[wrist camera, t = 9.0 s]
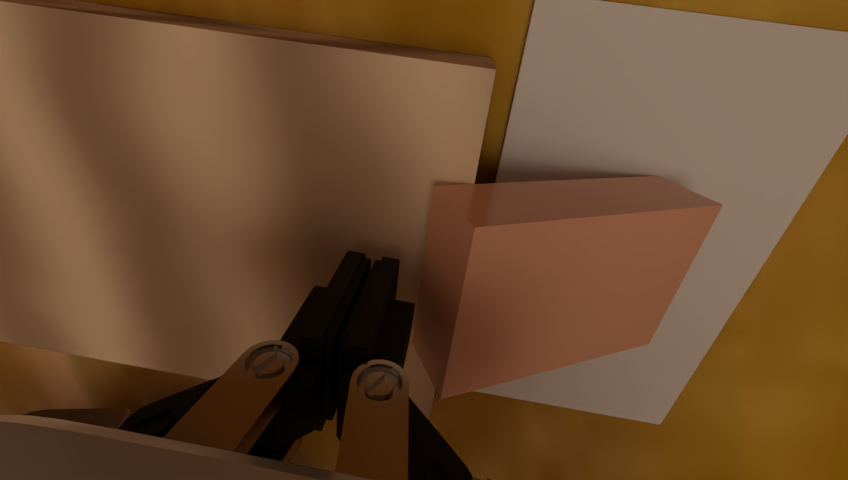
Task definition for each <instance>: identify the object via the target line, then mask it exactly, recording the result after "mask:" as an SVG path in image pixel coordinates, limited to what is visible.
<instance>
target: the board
mask: <svg viewBox="0 0 848 480" xmlns="http://www.w3.org/2000/svg"><path fill="white" fill-rule="evenodd" d="M495 73H496V68H495V65H494V62H493V60H492V58H491V57H484V56H476V55H469V54H462V53H454V52H447V51H440V50H432V49H425V48H418V47H411V46H403V45H396V44H389V43H381V42H374V41H367V40H359V39H352V38H345V37H338V36H330V35H323V34H316V33H308V32H301V31H294V30H286V29H279V28H272V27H264V26H257V25H250V24H243V23H235V22H228V21H221V20H213V19H206V18H199V17H191V16H184V15H177V14H170V13H162V12H155V11H148V10H140V9H133V8H126V7H118V6H111V5H104V4H96V3H89V2H82V1H75V0H0V341H2V342H8V343H13V344H19V345H24V346H29V347H35V348H40V349H46V350H51V351H56V352H62V353H67V354H73V355H78V356H84V357H89V358H94V359H100V360H105V361H111V362H116V363H121V364H127V365H132V366H138V367H143V368H148V369H154V370H159V371H165V372H170V373H175V374H181V375H186V376H192V377H197V378H203V379H208V380H213V379H215V378H218V377H220V376H222V375H223V374H224V373H225V372H226V371H227V370H228V369H229V368H230V367H231V365H232V364H233V363H234V362H235V361H236V360H237V359H238V358H239V357H240V356H241V355H242V354H243V353H244V352H245V351H246V350H248V349H249V348H250V347H251V346H254V345H256V344H258V343H260V342H264V341H268V340H280V339H281V338H282V336H283V335H284V333H285V331H286V330H287V328H288V327H289V325H290V324H291V322H292V320H293V319H294V317H295V316H296V314H297V312H298V311H299V309H300V308H301V306H302V304H303V303H304V301H305V300H306V298H307V296H308V295H309V293H310V292H311V290H312V289H313V287H314V286H316V285H317V286H322V287H327V286H328V284H329V282H330V280H331V279H332V277H333V275H334V273H335V272H336V270H337V268H338V267H339V265H340V263H341V261H342V260H343V258H344V256H345V254H346V253H347V251H355V252H361V253H365V254H366V258H369V259H371V268H372V266H373V264H374V262H375V260H381V259H382V257H383V256H384V257H390V258H395V259H399V260H400V264H399V273H398V282H397V291H396V300H401V301H406V302H412V303H415V309H414V316H413V323H412V329H411V335H410V340H409V345H408V350H407V354H406V359H405V363H404V368H403V370H404V371H405V373H406V374H407V376H408V381H409V397H410V398H411V400H412V401H413V402H414V403H415V404H416V406H417V407H418V408H419V409H420V411H421V412H422V413H423V414H424V415H425V417H426V418H427V419H428V420H430V415H431V410H432V405H433V399H434V394H435V388H434V386H433V384H432V382H431V380H430V378H429V376H428V374H427V372H426V370H425V368H424V366H423V364H422V362H421V360H420V358H419V356H418V354H417V351H416V349H415V347H414V345H413V343H412V340H413V333H414V325H415V318H416V310H417V303H418V296H419V288H420V281H421V273H422V266H423V258H424V251H425V243H426V236H427V228H428V221H429V213H430V206H431V199H432V191H433V186H439V185H462V184H475V178H476V173H477V168H478V162H479V157H480V152H481V147H482V141H483V136H484V131H485V126H486V120H487V115H488V110H489V105H490V99H491V94H492V89H493V83H494V78H495Z"/></svg>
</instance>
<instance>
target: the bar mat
mask: <svg viewBox="0 0 848 480" xmlns="http://www.w3.org/2000/svg"><path fill="white" fill-rule="evenodd" d="M847 134H848V32H842V31H834V30H826V29H818V28H811V27H803V26H795V25H787V24H779V23H771V22H764V21H756V20H748V19H740V18H732V17H725V16H717V15H709V14H701V13H693V12H685V11H678V10H670V9H662V8H654V7H646V6H639V5H631V4H623V3H615V2H607V1H599V0H534V3H533V8H532V13H531V17H530V22H529V26H528V31H527V36H526V40H525V45H524V49H523V54H522V59H521V63H520V68H519V73H518V77H517V82H516V86H515V91H514V96H513V100H512V105H511V110H510V114H509V119H508V123H507V128H506V133H505V137H504V142H503V146H502V151H501V156H500V160H499V165H498V170H497V174H496V179H495V183H507V182H530V181H552V180H575V179H598V178H620V177H643V176H659V177H661V178H663V179H666V180H668V181H670V182H672V183H675V184H677V185H679V186H682V187H684V188H686V189H688V190H691V191H693V192H695V193H697V194H700V195H702V196H704V197H707V198H709V199H711V200H713V201H716V202H718V203H720V204H722V205H723V206H722V208H721V210H720V212H719V214H718V215H717V217H716V219H715V221H714V223H713V225H712V227H711V229H710V230H709V232H708V234H707V236H706V238H705V240H704V242H703V243H702V245H701V247H700V249H699V251H698V253H697V255H696V257H695V258H694V260H693V262H692V264H691V266H690V268H689V270H688V272H687V273H686V275H685V277H684V279H683V281H682V283H681V285H680V287H679V288H678V290H677V292H676V294H675V296H674V298H673V300H672V301H671V303H670V305H669V307H668V309H667V311H666V313H665V315H664V316H663V318H662V320H661V322H660V324H659V326H658V328H657V330H656V331H655V333H654V335H653V337H652V339H651V341H650V343H649V344H647V345H643V346H639V347H635V348H632V349H628V350H624V351H620V352H617V353H613V354H609V355H606V356H602V357H598V358H594V359H591V360H587V361H583V362H579V363H576V364H572V365H568V366H565V367H561V368H557V369H553V370H550V371H546V372H542V373H539V374H535V375H531V376H527V377H524V378H520V379H516V380H512V381H509V382H505V383H501V384H498V385H494V386H490V387H486V388H483V389H479V390H475V392H481V393H486V394H492V395H497V396H503V397H508V398H514V399H520V400H525V401H531V402H536V403H542V404H547V405H553V406H558V407H564V408H570V409H575V410H581V411H586V412H592V413H597V414H603V415H608V416H614V417H620V418H625V419H631V420H636V421H642V422H647V423H653V424H658V425H660V424H661V423H662V421H663V420H664V418H665V417H666V415H667V413H668V412H669V410H670V409H671V407H672V406H673V404H674V403H675V401H676V399H677V398H678V396H679V395H680V393H681V392H682V390H683V389H684V387H685V386H686V384H687V382H688V381H689V379H690V378H691V376H692V375H693V373H694V372H695V370H696V368H697V367H698V365H699V364H700V362H701V361H702V359H703V358H704V356H705V354H706V353H707V351H708V350H709V348H710V347H711V345H712V344H713V342H714V340H715V339H716V337H717V336H718V334H719V333H720V331H721V330H722V328H723V326H724V325H725V323H726V322H727V320H728V319H729V317H730V316H731V314H732V313H733V311H734V309H735V308H736V306H737V305H738V303H739V302H740V300H741V299H742V297H743V295H744V294H745V292H746V291H747V289H748V288H749V286H750V285H751V283H752V281H753V280H754V278H755V277H756V275H757V274H758V272H759V271H760V269H761V267H762V266H763V264H764V263H765V261H766V260H767V258H768V257H769V255H770V253H771V252H772V250H773V249H774V247H775V246H776V244H777V243H778V241H779V240H780V238H781V236H782V235H783V233H784V232H785V230H786V229H787V227H788V226H789V224H790V222H791V221H792V219H793V218H794V216H795V215H796V213H797V212H798V210H799V208H800V207H801V205H802V204H803V202H804V201H805V199H806V198H807V196H808V194H809V193H810V191H811V190H812V188H813V187H814V185H815V184H816V182H817V180H818V179H819V177H820V176H821V174H822V173H823V171H824V170H825V168H826V167H827V165H828V163H829V162H830V160H831V159H832V157H833V156H834V154H835V153H836V151H837V149H838V148H839V146H840V145H841V143H842V142H843V140H844V139H845V137H846V135H847Z"/></svg>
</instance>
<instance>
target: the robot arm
mask: <svg viewBox="0 0 848 480" xmlns="http://www.w3.org/2000/svg"><path fill="white" fill-rule="evenodd" d="M399 264H400V260H399V259H395V258H390V257H384V256H383V257H382V259H381V260H375V262H374V264H373V266H372V268H371V259H369V258H366V254H365V253H361V252H355V251H347V253H346V254H345V256H344V258H343V260H342V261H341V263H340V265H339V267H338V268H337V270H336V272H335V273H334V275H333V277H332V279H331V280H330V282H329V284H328V286H327V287H322V286H317V285H316V286H314V287H313V289H312V290H311V292H310V293H309V295H308V296H307V298H306V300H305V301H304V303H303V304H302V306H301V308H300V309H299V311H298V312H297V314H296V316H295V317H294V319H293V320H292V322H291V324H290V325H289V327H288V328H287V330H286V331H285V333H284V335H283V336H282V338H281V339H280V340H268V341H264V342H260V343H258V344H256V345H254V346H251V347H250V348H249V349H248V350H246V351H245V352H244V353H243V354H242V355H241V356H240V357H239V358H238V359H237V360H236V361H235V362H234V363H233V364H232V365H231V367H230V368H229V369H228V370H227V371H226V372H225V373H224V374H223V375H222V376H220V377H218V378H215V379H213V380H210V381H208V382H205V383H202V384H200V385H197V386H195V387H192V388H189V389H187V390H184V391H182V392H179V393H177V394H174V395H171V396H169V397H166V398H164V399H161V400H159V401H156V402H153V403H151V404H149V405H147V406H145V407H143V408H141V409H139V410H137V411H136V412H131V411H130V408H92V409H45V410H38V411H32V412H29V413H27V414H24V415H8V414H0V480H480V479H477V478H475V477H473V476H472V475H471V473H470V472H469V470H468V468H467V467H466V465H465V464H464V463H463V462H462V460H461V459H460V458H459V457H458V456H457V454H456V453H455V452H454V451H453V449H452V448H451V447H450V446H449V445H448V443H447V442H446V441H445V440H444V439H443V437H442V436H441V435H440V434H439V432H438V431H437V430H436V429H435V428H434V426H433V425H432V424H431V423H430V421H429V420H428V419H427V418H426V417H425V415H424V414H423V413H422V412H421V411H420V409H419V408H418V407H417V406H416V404H415V403H414V402H413V401H412V400H411V398H410V397H409V381H408V376H407V374H406V373H405V371H404V370H403V368H404V363H405V359H406V354H407V350H408V345H409V340H410V335H411V329H412V323H413V316H414V309H415V303H412V302H406V301H401V300H396V291H397V282H398V273H399ZM336 409H337V437H338V439H339V440H340V446H339V452H338V457H337V463H336V469H335V472H332V471H327V470H322V469H317V468H312V467H307V466H302V465H297V464H292V463H290V462H291V461H292V459H293V457H294V455H295V454H296V452H297V450H298V449H299V447H300V444H301V442H302V437H303V436H304V435H306V434H308V433H310V432H312V431H313V430H318V431H322V428H323V426H324V423H325V421H326V419H328V420H332V419H333V417H334V415H335V412H336ZM487 480H490V479H488V478H487Z"/></svg>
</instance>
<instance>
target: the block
mask: <svg viewBox="0 0 848 480" xmlns="http://www.w3.org/2000/svg"><path fill="white" fill-rule="evenodd" d="M722 206H723V205H722V204H720V203H718V202H716V201H713V200H711V199H709V198H707V197H704V196H702V195H700V194H697V193H695V192H693V191H691V190H688V189H686V188H684V187H682V186H679V185H677V184H675V183H672V182H670V181H668V180H666V179H663V178H661V177H659V176H643V177H620V178H598V179H575V180H552V181H530V182H507V183H484V184H462V185H439V186H433V191H432V199H431V206H430V213H429V221H428V228H427V236H426V243H425V251H424V258H423V266H422V273H421V281H420V288H419V296H418V303H417V310H416V318H415V325H414V333H413V340H412V343H413V345H414V347H415V349H416V351H417V354H418V356H419V358H420V360H421V362H422V364H423V366H424V368H425V370H426V372H427V374H428V376H429V378H430V380H431V382H432V384H433V386H434V388H435V390H436V392H437V394H438V396H439V398H440V400H442V399H445V398H449V397H453V396H457V395H460V394H464V393H468V392H471V391H475V390H479V389H483V388H486V387H490V386H494V385H498V384H501V383H505V382H509V381H512V380H516V379H520V378H524V377H527V376H531V375H535V374H539V373H542V372H546V371H550V370H553V369H557V368H561V367H565V366H568V365H572V364H576V363H579V362H583V361H587V360H591V359H594V358H598V357H602V356H606V355H609V354H613V353H617V352H620V351H624V350H628V349H632V348H635V347H639V346H643V345H647V344H649V343H650V341H651V339H652V337H653V335H654V333H655V331H656V330H657V328H658V326H659V324H660V322H661V320H662V318H663V316H664V315H665V313H666V311H667V309H668V307H669V305H670V303H671V301H672V300H673V298H674V296H675V294H676V292H677V290H678V288H679V287H680V285H681V283H682V281H683V279H684V277H685V275H686V273H687V272H688V270H689V268H690V266H691V264H692V262H693V260H694V258H695V257H696V255H697V253H698V251H699V249H700V247H701V245H702V243H703V242H704V240H705V238H706V236H707V234H708V232H709V230H710V229H711V227H712V225H713V223H714V221H715V219H716V217H717V215H718V214H719V212H720V210H721V208H722Z"/></svg>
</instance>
